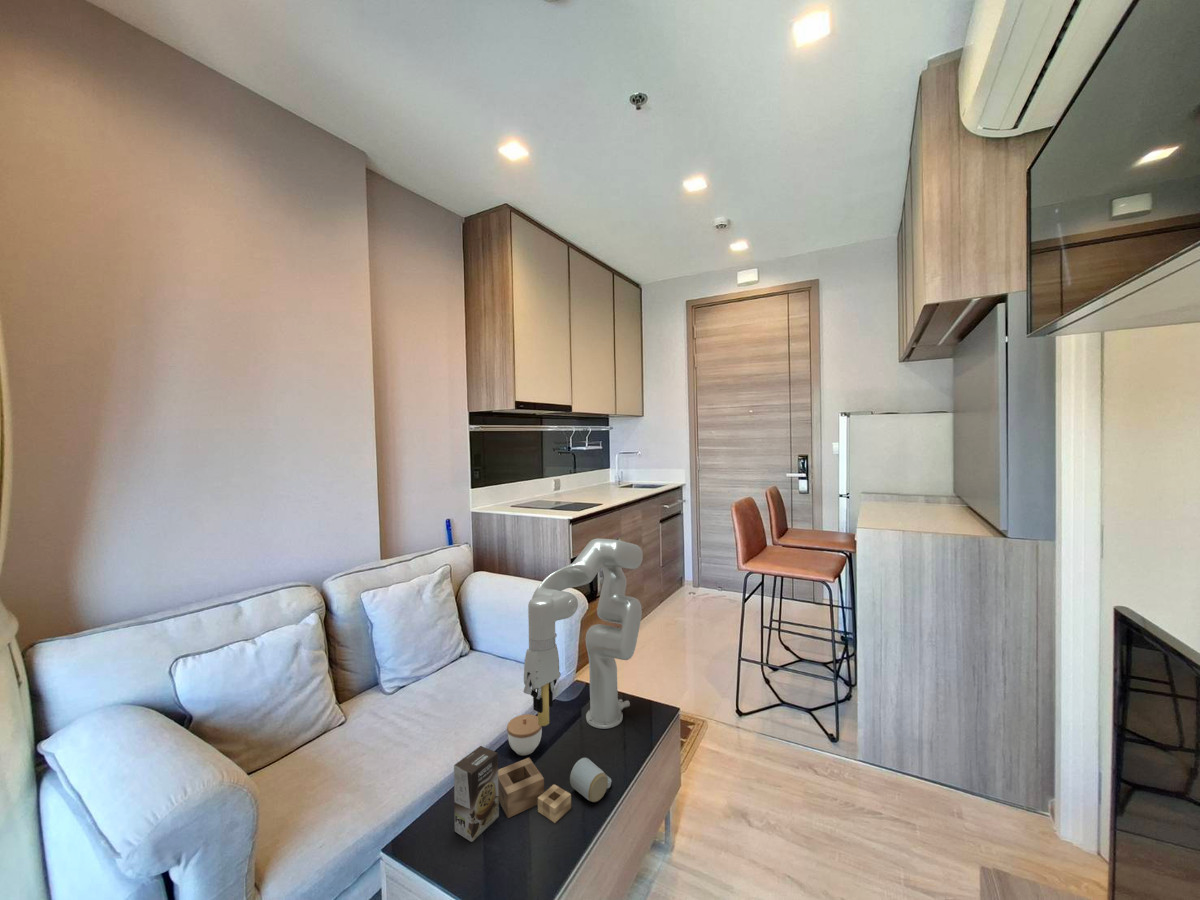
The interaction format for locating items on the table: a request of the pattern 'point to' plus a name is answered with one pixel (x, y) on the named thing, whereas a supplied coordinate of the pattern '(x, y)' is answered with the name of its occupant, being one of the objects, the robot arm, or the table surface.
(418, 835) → the table surface
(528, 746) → the lidded jar
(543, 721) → the tan cylindrical rod
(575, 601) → the robot arm
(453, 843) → the table surface
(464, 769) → the coffee box
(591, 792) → the ceramic mug
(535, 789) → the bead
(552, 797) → the loose bead
